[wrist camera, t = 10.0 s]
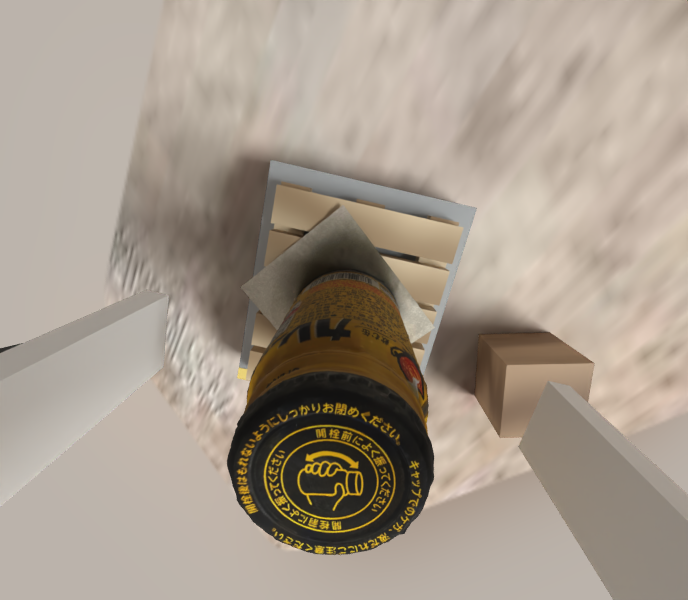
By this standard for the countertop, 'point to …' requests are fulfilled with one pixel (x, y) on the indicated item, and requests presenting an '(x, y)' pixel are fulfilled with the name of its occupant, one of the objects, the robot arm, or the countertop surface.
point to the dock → (393, 202)
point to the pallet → (383, 231)
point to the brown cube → (524, 376)
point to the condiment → (334, 398)
